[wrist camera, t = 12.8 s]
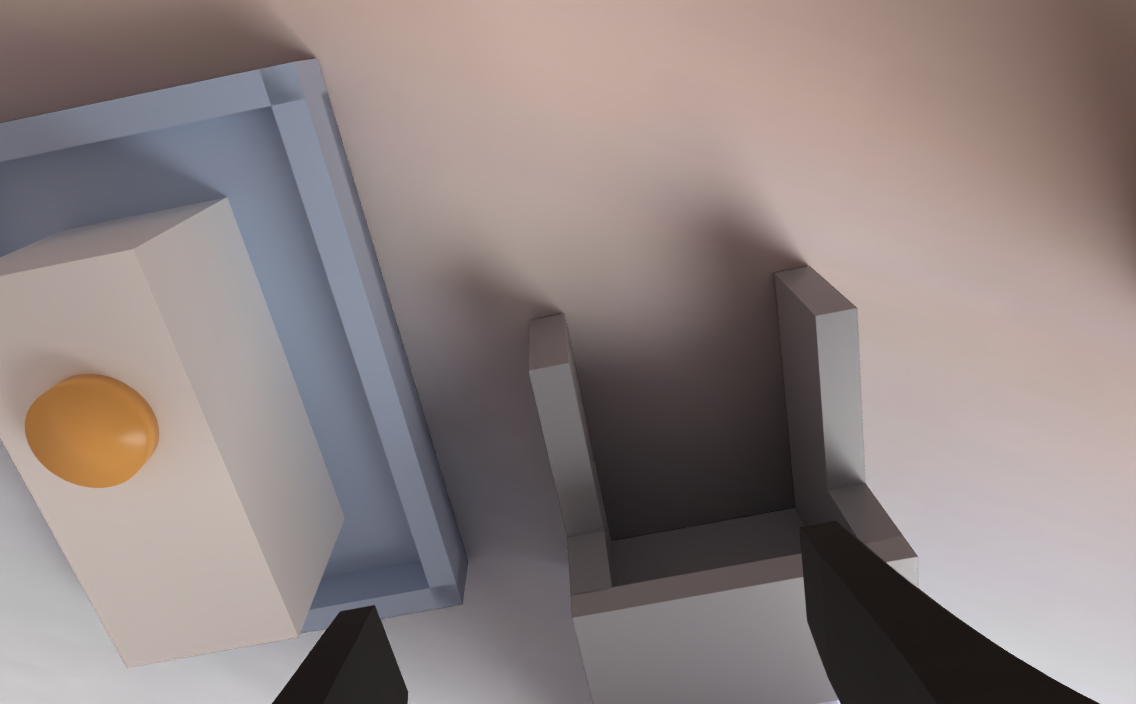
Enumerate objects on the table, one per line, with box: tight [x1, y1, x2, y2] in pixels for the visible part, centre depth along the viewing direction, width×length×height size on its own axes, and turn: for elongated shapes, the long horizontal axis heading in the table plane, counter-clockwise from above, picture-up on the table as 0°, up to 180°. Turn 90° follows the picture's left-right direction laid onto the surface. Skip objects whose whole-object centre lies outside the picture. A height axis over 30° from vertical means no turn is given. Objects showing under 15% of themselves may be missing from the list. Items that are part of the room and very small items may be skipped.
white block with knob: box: [0, 197, 345, 668], centre depth 19 cm, size 10×4×6 cm, turn 11°
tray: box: [0, 58, 468, 633], centre depth 21 cm, size 16×11×2 cm
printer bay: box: [528, 266, 918, 704], centre depth 21 cm, size 9×8×6 cm
